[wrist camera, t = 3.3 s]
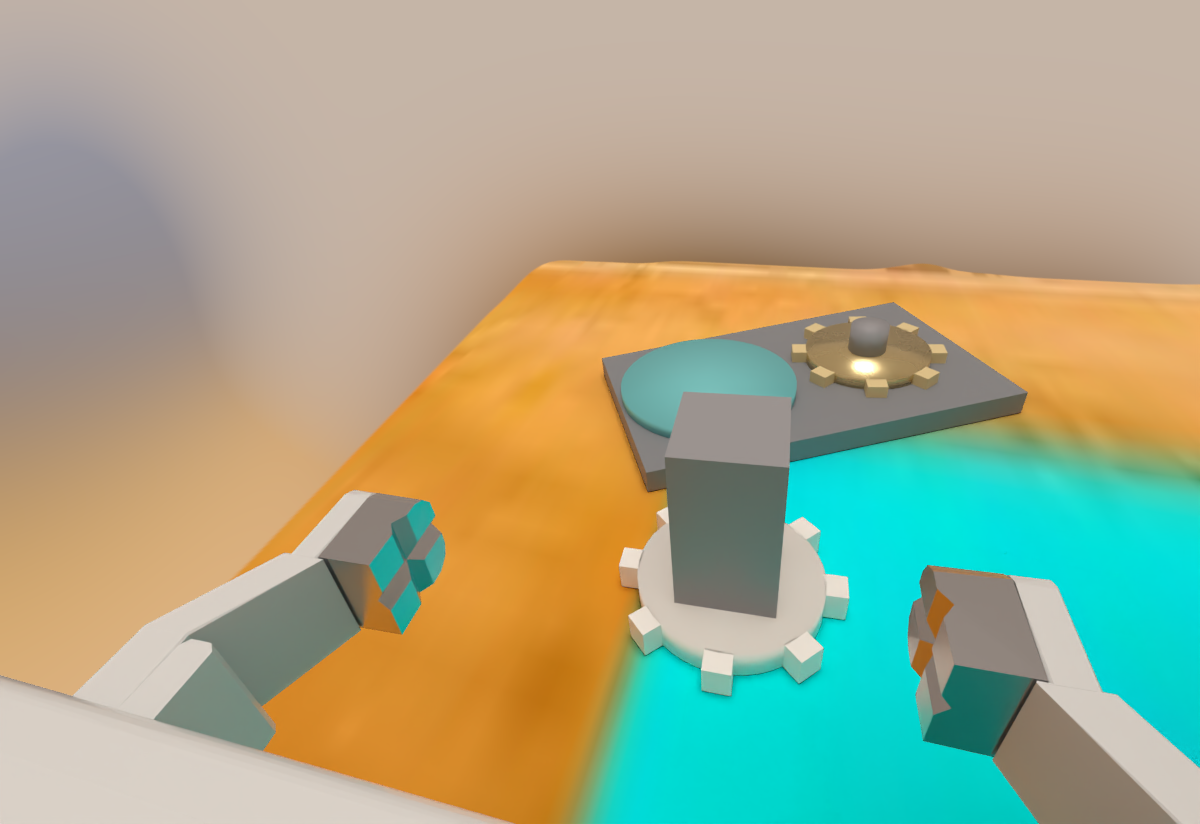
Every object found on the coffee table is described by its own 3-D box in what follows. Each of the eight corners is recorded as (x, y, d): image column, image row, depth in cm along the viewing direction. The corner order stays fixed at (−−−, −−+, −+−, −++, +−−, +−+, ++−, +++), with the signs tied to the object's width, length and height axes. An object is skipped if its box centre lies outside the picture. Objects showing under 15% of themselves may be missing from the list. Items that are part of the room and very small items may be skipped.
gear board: (890, 319, 48) (899, 271, 46) (1020, 412, 37) (1040, 355, 35) (604, 375, 46) (598, 328, 44) (648, 491, 35) (642, 437, 33)
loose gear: (839, 526, 31) (865, 362, 25) (851, 719, 23) (894, 542, 17) (645, 505, 34) (631, 354, 28) (596, 669, 26) (562, 504, 20)
